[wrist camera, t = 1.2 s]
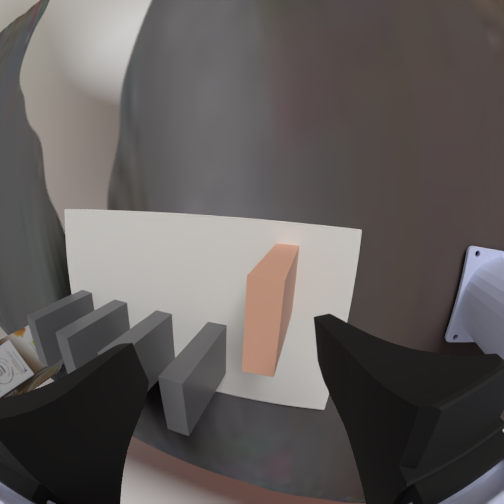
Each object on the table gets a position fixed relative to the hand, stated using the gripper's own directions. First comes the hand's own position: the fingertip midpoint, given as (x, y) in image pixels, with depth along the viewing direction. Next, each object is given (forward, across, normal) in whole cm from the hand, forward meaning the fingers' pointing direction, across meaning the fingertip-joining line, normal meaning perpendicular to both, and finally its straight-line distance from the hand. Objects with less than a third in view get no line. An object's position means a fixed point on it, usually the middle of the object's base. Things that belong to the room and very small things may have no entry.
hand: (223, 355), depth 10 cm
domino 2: (+14, +12, +4) cm, 19 cm away
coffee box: (+19, +30, +9) cm, 37 cm away
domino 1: (+15, +17, +3) cm, 23 cm away
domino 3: (+12, +8, +5) cm, 15 cm away
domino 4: (+11, +3, +6) cm, 13 cm away
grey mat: (+13, +6, +3) cm, 14 cm away
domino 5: (+10, -4, +1) cm, 11 cm away
